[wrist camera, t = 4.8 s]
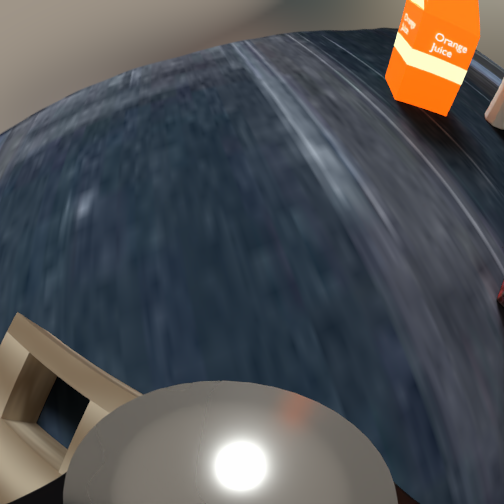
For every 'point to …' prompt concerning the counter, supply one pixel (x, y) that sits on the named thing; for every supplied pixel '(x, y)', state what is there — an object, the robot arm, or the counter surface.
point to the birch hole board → (33, 399)
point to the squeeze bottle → (496, 109)
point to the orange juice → (433, 52)
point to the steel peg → (226, 451)
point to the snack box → (501, 295)
